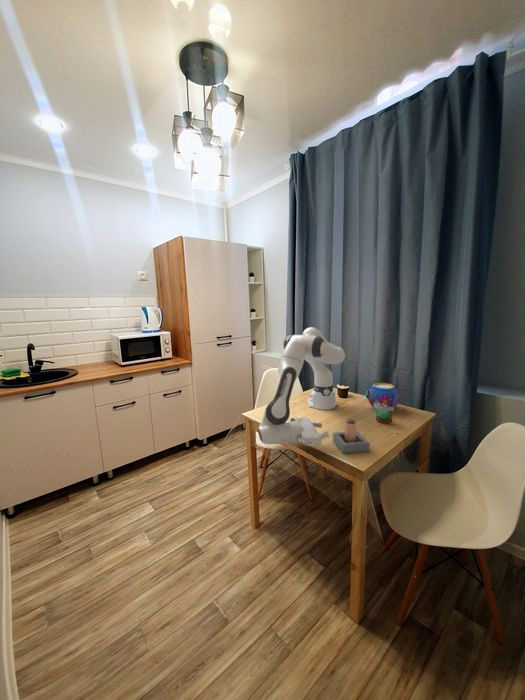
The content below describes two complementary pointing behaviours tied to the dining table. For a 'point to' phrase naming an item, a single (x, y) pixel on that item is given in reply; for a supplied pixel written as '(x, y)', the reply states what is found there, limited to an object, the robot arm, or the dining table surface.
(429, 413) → the dining table surface
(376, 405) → the food container
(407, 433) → the dining table surface
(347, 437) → the spice jar
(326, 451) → the dining table surface
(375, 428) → the dining table surface
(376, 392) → the ceramic pot
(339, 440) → the holder
